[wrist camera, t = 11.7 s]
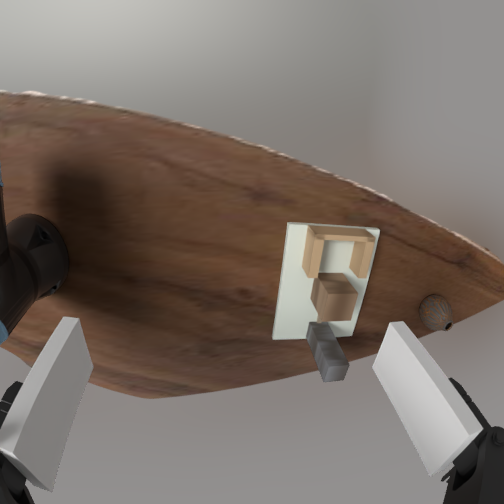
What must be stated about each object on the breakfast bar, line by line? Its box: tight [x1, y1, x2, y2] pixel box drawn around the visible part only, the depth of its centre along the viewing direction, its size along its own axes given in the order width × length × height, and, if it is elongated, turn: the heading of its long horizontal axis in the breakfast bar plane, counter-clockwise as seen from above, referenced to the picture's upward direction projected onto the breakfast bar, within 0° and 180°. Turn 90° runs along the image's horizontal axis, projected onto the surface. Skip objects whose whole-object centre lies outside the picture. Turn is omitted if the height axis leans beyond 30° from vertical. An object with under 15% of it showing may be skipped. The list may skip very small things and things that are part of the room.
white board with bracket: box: [272, 222, 380, 340], centre depth 50 cm, size 16×22×5 cm
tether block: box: [306, 272, 358, 382], centre depth 47 cm, size 5×14×12 cm, turn 175°
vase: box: [419, 295, 453, 331], centre depth 53 cm, size 7×7×9 cm
